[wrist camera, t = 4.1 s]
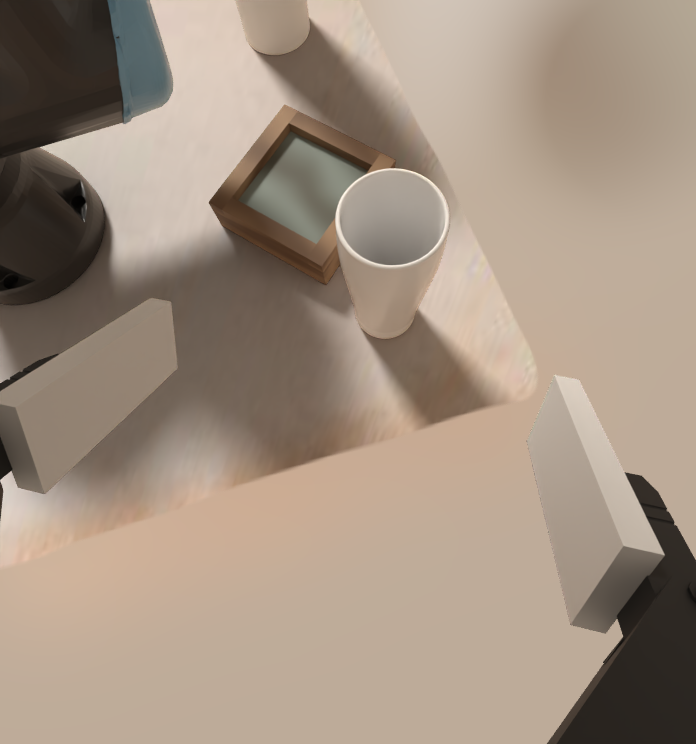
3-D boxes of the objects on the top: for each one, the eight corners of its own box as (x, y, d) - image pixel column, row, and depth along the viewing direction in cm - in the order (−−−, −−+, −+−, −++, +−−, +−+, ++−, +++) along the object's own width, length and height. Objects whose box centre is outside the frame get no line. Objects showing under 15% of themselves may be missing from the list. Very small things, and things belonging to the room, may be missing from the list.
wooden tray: (325, 285, 41) (321, 266, 37) (222, 225, 43) (208, 202, 39) (393, 186, 43) (395, 159, 40) (291, 134, 45) (284, 104, 42)
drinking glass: (356, 356, 39) (348, 282, 25) (339, 287, 41) (322, 180, 26) (431, 339, 39) (466, 255, 25) (411, 270, 41) (433, 154, 26)
